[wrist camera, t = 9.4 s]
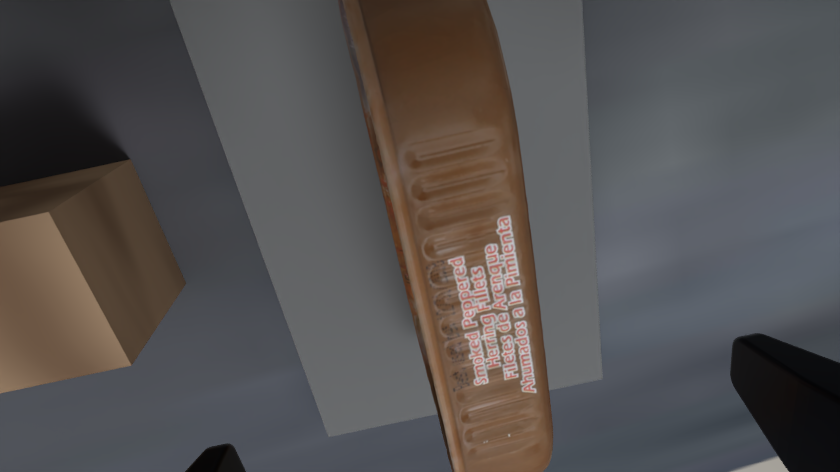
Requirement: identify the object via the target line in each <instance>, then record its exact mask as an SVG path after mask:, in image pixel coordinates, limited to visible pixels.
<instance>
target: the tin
mask: <svg viewBox="0 0 840 472" xmlns="http://www.w3.org/2000/svg"><path fill="white" fill-rule="evenodd" d="M338 4H339V10H340V15H341V21H342V26H343V30H344V34H345V38H346V42H347V46H348V50H349V55H350V59H351V63H352V67H353V71H354V74H355V77H356V81H357V87H358V91H359V96H360V101H361V105H362V109H363V113H364V118H365V122H366V126H367V129H368V135H369V138H370V143H371V147H372V151H373V155H374V160H375V164H376V168H377V172H378V176H379V180H380V185H381V189H382V193H383V198H384V201H385V205H386V210H387V215H388V219H389V223H390V227H391V231H392V236H393V240H394V244H395V248H396V253H397V257H398V261H399V265H400V269H401V273H402V277H403V281H404V286H405V290H406V294H407V298H408V302H409V305H410V309H411V313H412V317H413V322H414V326H415V330H416V334H417V338H418V342H419V346H420V350H421V353H422V358H423V362H424V365H425V369H426V373H427V377H428V380H429V384H430V387H431V392H432V396H433V399H434V403H435V406H436V410H437V413H438V417H439V421H440V426H441V430H442V434H443V438H444V442H445V446H446V449H447V454H448V458H449V461H450V465H451V469H452V472H542V471H544V470H545V469H546V468H547V466H548V465H549V462H550V460H551V455H552V449H553V425H552V414H551V405H550V395H549V386H548V375H547V366H546V355H545V348H544V340H543V329H542V321H541V310H540V303H539V295H538V288H537V279H536V269H535V261H534V253H533V245H532V236H531V229H530V222H529V213H528V203H527V197H526V190H525V181H524V173H523V165H522V158H521V150H520V142H519V134H518V127H517V121H516V116H515V110H514V104H513V98H512V93H511V88H510V84H509V79H508V74H507V70H506V65H505V61H504V57H503V53H502V49H501V45H500V41H499V37H498V33H497V29H496V26H495V23H494V20H493V17H492V15H491V12H490V9H489V6H488V3H487V0H338Z"/></svg>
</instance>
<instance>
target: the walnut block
mask: <svg viewBox="0 0 840 472" xmlns="http://www.w3.org/2000/svg"><path fill="white" fill-rule="evenodd" d="M185 284H186V282H185V280H184V278H183V275H182V273H181V271H180V269H179V267H178V264H177V262H176V260H175V258H174V255H173V253H172V251H171V249H170V246H169V244H168V242H167V240H166V238H165V235H164V233H163V231H162V229H161V226H160V224H159V222H158V220H157V217H156V215H155V213H154V211H153V208H152V206H151V204H150V202H149V200H148V197H147V195H146V193H145V191H144V188H143V186H142V184H141V182H140V179H139V177H138V175H137V173H136V170H135V168H134V166H133V164H132V162H131V159H130V160H125V161H120V162H116V163H111V164H106V165H101V166H97V167H92V168H87V169H83V170H78V171H73V172H69V173H64V174H59V175H55V176H50V177H45V178H41V179H36V180H31V181H26V182H22V183H17V184H12V185H8V186H3V187H0V393H4V392H9V391H13V390H18V389H23V388H27V387H32V386H37V385H42V384H46V383H51V382H56V381H61V380H65V379H70V378H75V377H79V376H84V375H89V374H94V373H98V372H103V371H108V370H112V369H117V368H122V367H127V366H131V365H132V364H133V362H134V361H135V359H136V358H137V356H138V355H139V353H140V352H141V350H142V349H143V347H144V346H145V344H146V343H147V341H148V340H149V338H150V337H151V335H152V334H153V332H154V331H155V329H156V328H157V326H158V325H159V323H160V322H161V320H162V319H163V317H164V316H165V314H166V313H167V311H168V310H169V308H170V307H171V305H172V304H173V302H174V301H175V299H176V298H177V296H178V295H179V293H180V292H181V290H182V289H183V287H184V286H185Z"/></svg>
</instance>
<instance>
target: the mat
mask: <svg viewBox="0 0 840 472" xmlns="http://www.w3.org/2000/svg"><path fill="white" fill-rule="evenodd" d="M169 1H170V4H171V6H172V9H173V12H174V15H175V17H176V20H177V23H178V26H179V28H180V31H181V34H182V37H183V39H184V42H185V45H186V47H187V50H188V53H189V56H190V58H191V61H192V64H193V67H194V69H195V72H196V75H197V78H198V80H199V83H200V86H201V89H202V91H203V94H204V97H205V100H206V102H207V105H208V108H209V111H210V113H211V116H212V119H213V121H214V124H215V127H216V130H217V132H218V135H219V138H220V141H221V143H222V146H223V149H224V152H225V154H226V157H227V160H228V163H229V165H230V168H231V171H232V174H233V176H234V179H235V182H236V185H237V187H238V190H239V193H240V196H241V198H242V201H243V204H244V206H245V209H246V212H247V215H248V217H249V220H250V223H251V226H252V228H253V231H254V234H255V237H256V239H257V242H258V245H259V248H260V250H261V253H262V256H263V259H264V261H265V264H266V267H267V270H268V272H269V275H270V278H271V280H272V283H273V286H274V289H275V291H276V294H277V297H278V300H279V302H280V305H281V308H282V311H283V313H284V316H285V319H286V322H287V324H288V327H289V330H290V333H291V335H292V338H293V341H294V344H295V346H296V349H297V352H298V355H299V357H300V360H301V363H302V365H303V368H304V371H305V374H306V376H307V379H308V382H309V385H310V387H311V390H312V393H313V396H314V398H315V401H316V404H317V407H318V409H319V412H320V415H321V418H322V420H323V423H324V426H325V429H326V431H327V434H328V437H331V436H336V435H341V434H345V433H350V432H355V431H360V430H364V429H369V428H374V427H378V426H383V425H388V424H393V423H397V422H402V421H407V420H412V419H416V418H421V417H426V416H430V415H435V414H438V413H437V410H436V406H435V403H434V399H433V396H432V392H431V387H430V384H429V380H428V377H427V373H426V369H425V365H424V362H423V358H422V353H421V350H420V346H419V342H418V338H417V334H416V330H415V326H414V322H413V317H412V313H411V309H410V305H409V302H408V298H407V294H406V290H405V286H404V281H403V277H402V273H401V269H400V265H399V261H398V257H397V253H396V248H395V244H394V240H393V236H392V231H391V227H390V223H389V219H388V215H387V210H386V205H385V201H384V198H383V193H382V189H381V185H380V180H379V176H378V172H377V168H376V164H375V160H374V155H373V151H372V147H371V143H370V138H369V135H368V129H367V126H366V122H365V118H364V113H363V109H362V105H361V101H360V96H359V91H358V87H357V81H356V77H355V74H354V71H353V67H352V63H351V59H350V55H349V50H348V46H347V42H346V38H345V34H344V30H343V26H342V21H341V15H340V10H339V4H338V0H169ZM487 3H488V6H489V9H490V12H491V15H492V17H493V20H494V23H495V26H496V29H497V33H498V37H499V41H500V45H501V49H502V53H503V57H504V61H505V65H506V70H507V74H508V79H509V84H510V88H511V93H512V98H513V104H514V110H515V116H516V121H517V127H518V134H519V142H520V150H521V158H522V165H523V173H524V181H525V190H526V197H527V203H528V213H529V222H530V229H531V236H532V245H533V253H534V261H535V269H536V279H537V288H538V295H539V303H540V310H541V321H542V329H543V340H544V348H545V355H546V366H547V375H548V386H549V390H553V389H558V388H563V387H567V386H572V385H577V384H582V383H586V382H591V381H596V380H600V379H602V361H601V342H600V324H599V305H598V286H597V268H596V249H595V231H594V212H593V194H592V175H591V157H590V138H589V120H588V101H587V83H586V64H585V46H584V27H583V9H582V0H487Z"/></svg>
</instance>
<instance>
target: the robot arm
mask: <svg viewBox="0 0 840 472" xmlns="http://www.w3.org/2000/svg"><path fill="white" fill-rule="evenodd" d="M730 376H731V380H732V383H733V386H734V388H735V389H736V391H737V393H738V394H739V396H740V397H741V399H742V400H743V402H744V403H745V405H746V407H747V408H748V410H749V411H750V413H751V414H752V416H753V418H754V419H755V421H756V422H757V424H758V425H759V427H760V429H761V430H762V432H763V433H764V435H765V436H766V438H767V439H768V441H769V443H770V444H771V446H772V447H773V449H774V450H775V452H776V454H777V455H778V456H779V458H780V459H781V461H782V462H783V464H784V465H785V467H786V468H787V469H788V471H789V472H840V363H839V362H836V361H833V360H831V359H828V358H825V357H823V356H820V355H817V354H815V353H812V352H809V351H807V350H804V349H801V348H799V347H796V346H793V345H791V344H788V343H785V342H783V341H780V340H777V339H775V338H772V337H769V336H767V335H764V334H760V333H755V334H750V335H745V336H741V337H738V338H736V339H735V340H734V342H733V345H732V357H731V370H730ZM185 472H246V471H245V469H244V466H243V464H242V462H241V460H240V458H239V456H238V454H237V452H236V450H235V448H234V446H233V445H231V444H222V445H217V446H212V447H209V448H207V449H206V450H205V451H204V452H203V453H202V454H201V455H200V456H199V457H198V458H197V459H196V460H195V461H194V462H193V464H192V465H191V466H190V467H189V468H188V469H187V470H186V471H185Z"/></svg>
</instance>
